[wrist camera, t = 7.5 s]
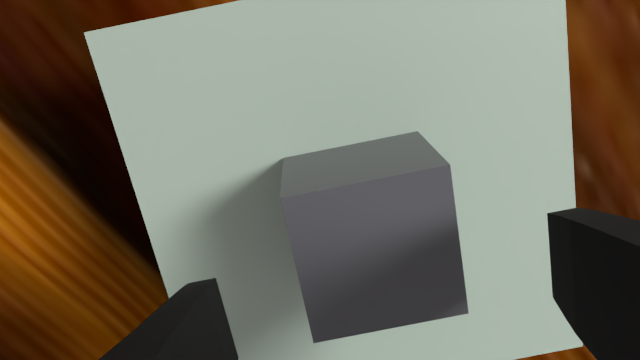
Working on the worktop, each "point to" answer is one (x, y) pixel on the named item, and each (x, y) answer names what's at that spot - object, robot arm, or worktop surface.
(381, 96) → the lid
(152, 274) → the worktop surface
